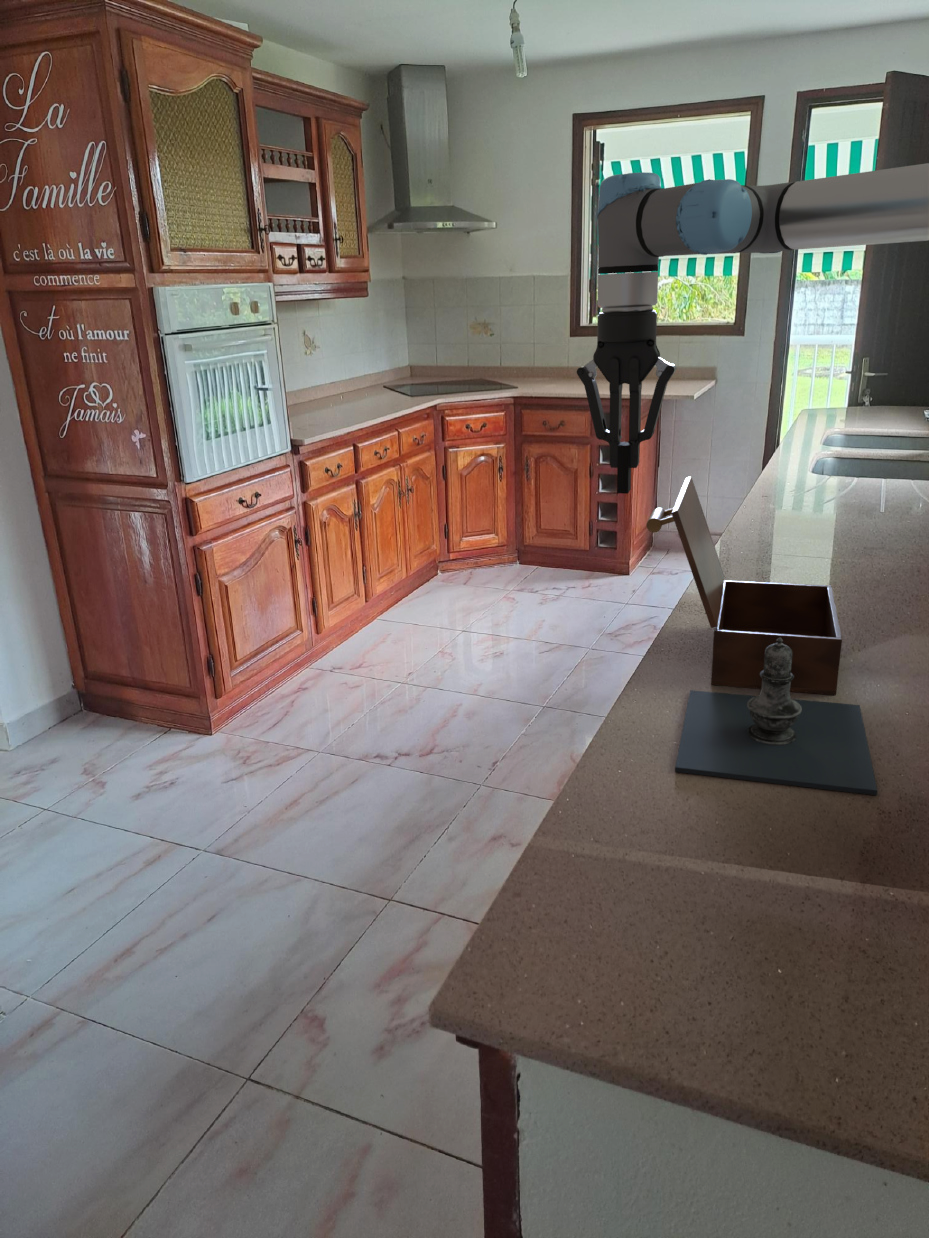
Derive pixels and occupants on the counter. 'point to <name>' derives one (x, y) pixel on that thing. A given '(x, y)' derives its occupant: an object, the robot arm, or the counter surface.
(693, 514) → the bread box lid
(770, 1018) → the counter surface
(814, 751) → the mat
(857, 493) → the counter surface
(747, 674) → the bread box
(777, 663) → the salt shaker
